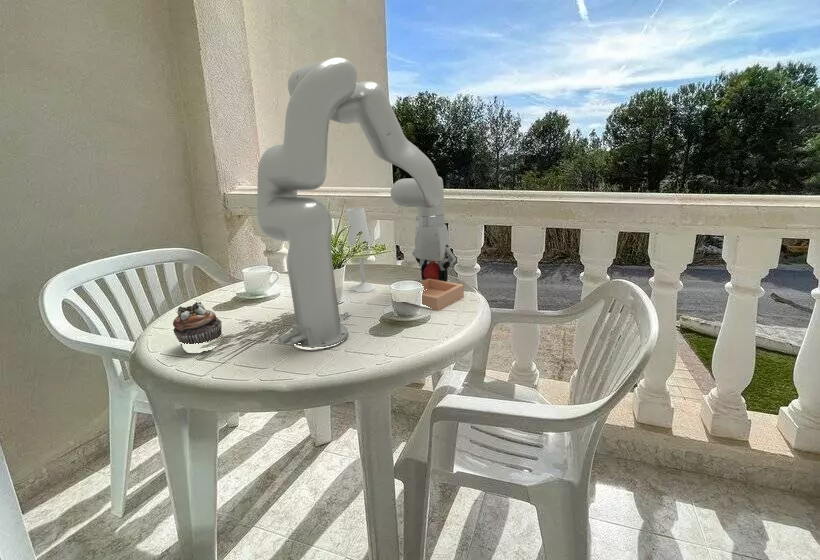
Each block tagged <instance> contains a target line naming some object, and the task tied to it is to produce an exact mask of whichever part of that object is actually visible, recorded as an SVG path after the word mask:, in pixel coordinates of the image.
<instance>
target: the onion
mask: <svg viewBox="0 0 820 560" xmlns="http://www.w3.org/2000/svg"><path fill="white" fill-rule="evenodd" d="M439 270H441V269H440V266H439V264H438V262H435V261H429V262H428V264H427V266H426V267H425V269H424V273H423V275H424V278H425V280H426V279H428V278H430V279H435V280H439Z"/></svg>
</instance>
